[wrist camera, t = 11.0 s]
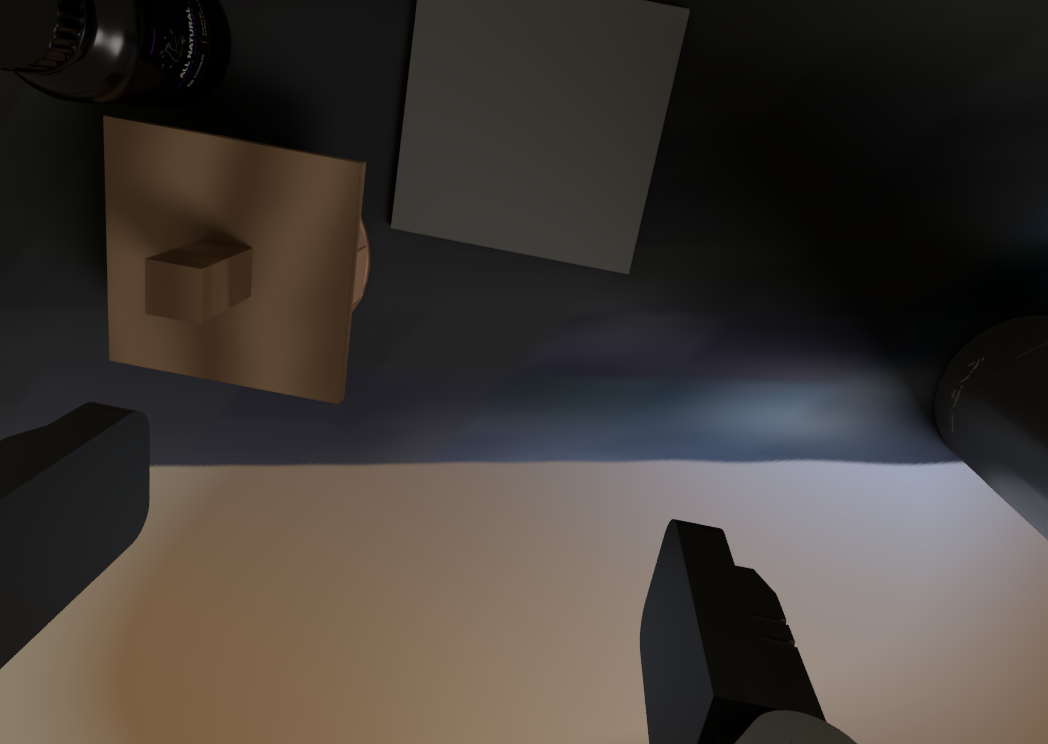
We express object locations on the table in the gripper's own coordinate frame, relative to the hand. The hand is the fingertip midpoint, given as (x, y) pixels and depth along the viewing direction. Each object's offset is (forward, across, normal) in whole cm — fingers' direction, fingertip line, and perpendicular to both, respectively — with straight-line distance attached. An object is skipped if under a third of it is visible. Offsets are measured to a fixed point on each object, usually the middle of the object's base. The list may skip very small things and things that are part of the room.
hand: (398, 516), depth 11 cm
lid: (+25, +14, +4) cm, 29 cm away
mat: (+30, +1, -5) cm, 31 cm away
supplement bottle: (+30, +20, -6) cm, 37 cm away
